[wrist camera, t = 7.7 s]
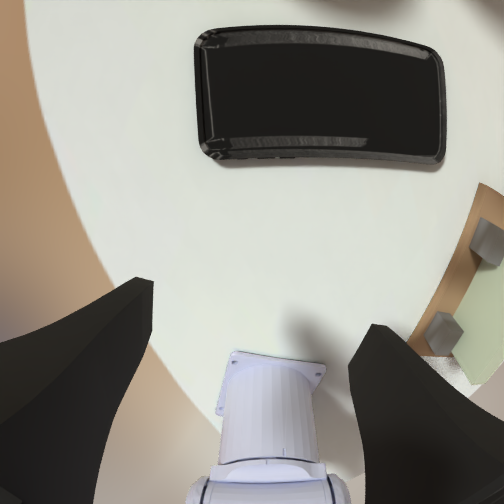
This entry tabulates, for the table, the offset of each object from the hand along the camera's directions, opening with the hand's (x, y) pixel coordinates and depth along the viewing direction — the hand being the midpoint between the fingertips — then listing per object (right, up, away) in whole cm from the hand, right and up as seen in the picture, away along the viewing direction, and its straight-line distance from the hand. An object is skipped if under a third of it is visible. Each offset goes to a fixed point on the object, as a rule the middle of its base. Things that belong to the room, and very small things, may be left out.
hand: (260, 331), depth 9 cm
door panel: (+18, 0, +9) cm, 20 cm away
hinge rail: (+18, 0, +10) cm, 20 cm away
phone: (+4, +12, +5) cm, 14 cm away
